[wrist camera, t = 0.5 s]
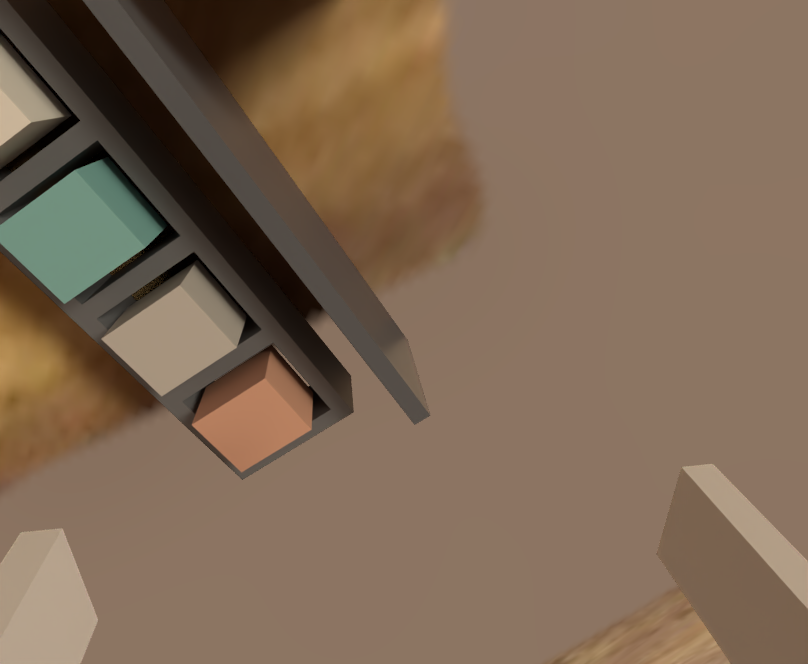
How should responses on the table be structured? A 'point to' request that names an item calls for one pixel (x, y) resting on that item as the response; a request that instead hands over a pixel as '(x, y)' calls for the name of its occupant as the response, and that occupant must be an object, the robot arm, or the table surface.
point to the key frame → (195, 232)
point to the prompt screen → (261, 186)
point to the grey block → (177, 329)
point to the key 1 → (23, 105)
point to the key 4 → (255, 409)
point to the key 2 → (81, 229)
